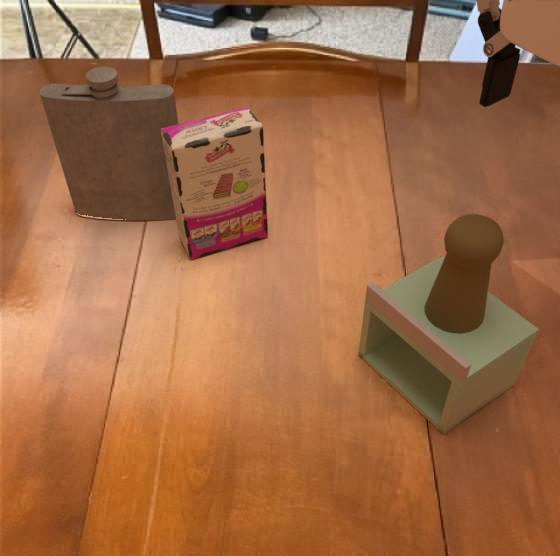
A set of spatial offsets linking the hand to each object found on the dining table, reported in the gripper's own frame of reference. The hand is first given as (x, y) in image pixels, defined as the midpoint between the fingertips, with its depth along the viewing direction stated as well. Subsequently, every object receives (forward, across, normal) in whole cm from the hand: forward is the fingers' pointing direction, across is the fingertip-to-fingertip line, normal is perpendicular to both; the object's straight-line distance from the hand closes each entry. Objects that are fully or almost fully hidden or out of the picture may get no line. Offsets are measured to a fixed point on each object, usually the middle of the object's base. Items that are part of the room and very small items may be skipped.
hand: (539, 125), depth 55 cm
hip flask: (+28, +45, +19) cm, 57 cm away
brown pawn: (+19, 0, +5) cm, 20 cm away
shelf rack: (+28, 0, +5) cm, 29 cm away
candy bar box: (+28, +33, +12) cm, 45 cm away
